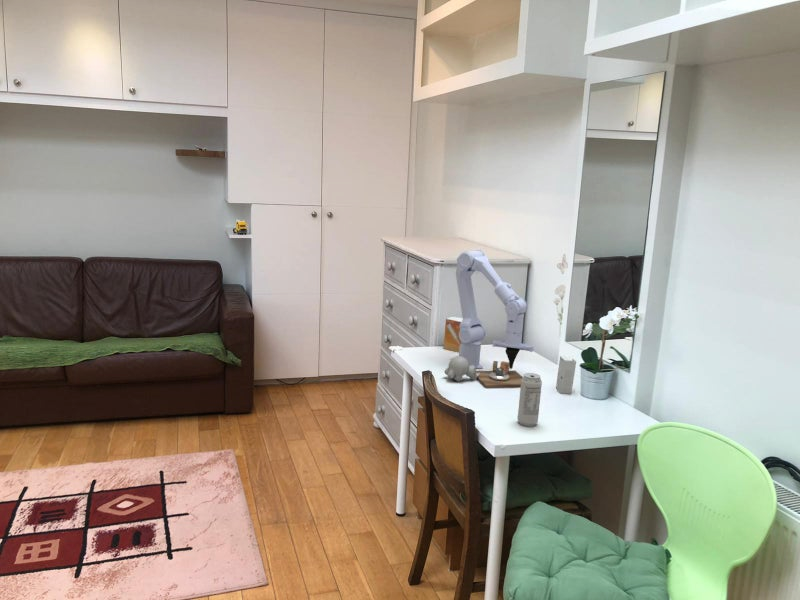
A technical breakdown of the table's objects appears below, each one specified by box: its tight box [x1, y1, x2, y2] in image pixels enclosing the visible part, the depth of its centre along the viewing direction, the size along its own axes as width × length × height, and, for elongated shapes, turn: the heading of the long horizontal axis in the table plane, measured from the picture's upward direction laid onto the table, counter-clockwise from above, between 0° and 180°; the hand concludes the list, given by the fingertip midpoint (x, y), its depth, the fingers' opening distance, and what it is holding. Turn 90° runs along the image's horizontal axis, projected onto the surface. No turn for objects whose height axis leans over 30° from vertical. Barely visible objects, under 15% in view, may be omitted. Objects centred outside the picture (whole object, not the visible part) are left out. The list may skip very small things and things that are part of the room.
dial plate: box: [489, 360, 510, 380], centre depth 243 cm, size 12×7×4 cm, turn 157°
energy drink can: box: [517, 372, 543, 427], centre depth 202 cm, size 6×6×15 cm
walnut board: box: [475, 360, 524, 389], centre depth 242 cm, size 16×17×5 cm
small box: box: [443, 316, 463, 353], centre depth 280 cm, size 8×6×13 cm
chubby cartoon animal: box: [444, 355, 479, 382], centre depth 240 cm, size 7×12×8 cm, turn 98°
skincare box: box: [555, 355, 577, 395], centre depth 234 cm, size 6×4×12 cm
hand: (511, 367), depth 247 cm, fingers closed
